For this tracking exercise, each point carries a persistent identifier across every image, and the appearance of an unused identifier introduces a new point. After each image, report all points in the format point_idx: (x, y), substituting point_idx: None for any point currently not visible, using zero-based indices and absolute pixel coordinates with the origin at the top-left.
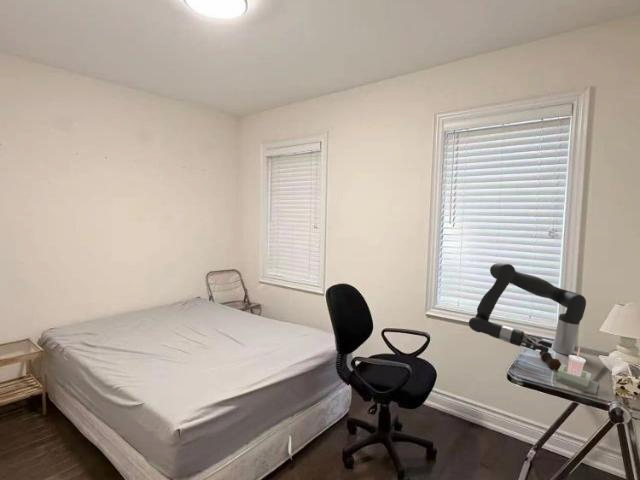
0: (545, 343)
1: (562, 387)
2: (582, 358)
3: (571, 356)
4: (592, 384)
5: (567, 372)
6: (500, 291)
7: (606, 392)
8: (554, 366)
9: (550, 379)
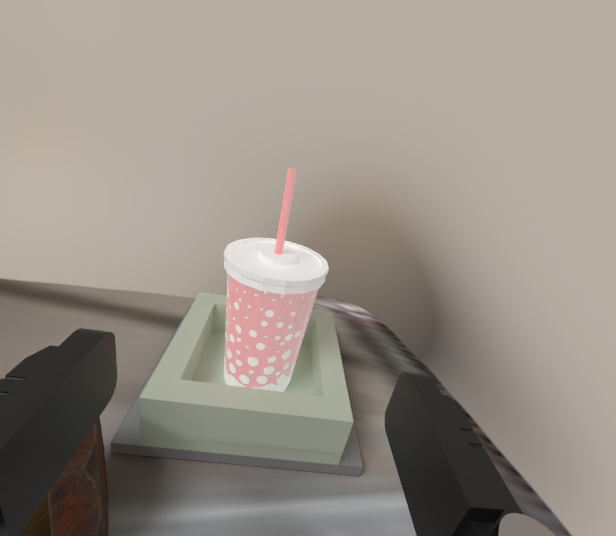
0: (51, 431)
1: None
2: (246, 241)
3: (275, 273)
4: None
5: (323, 374)
6: None
7: None
8: (105, 485)
9: (383, 510)
